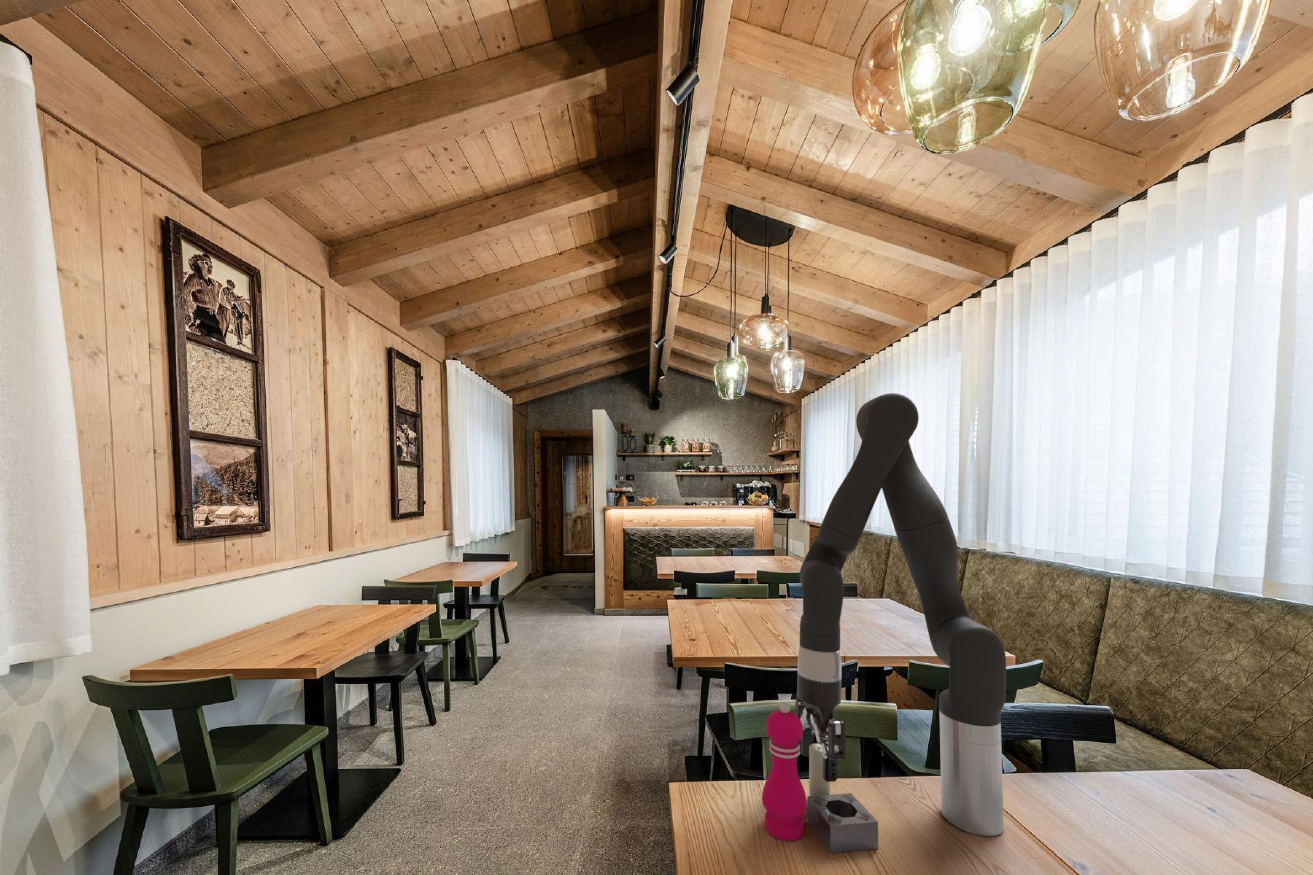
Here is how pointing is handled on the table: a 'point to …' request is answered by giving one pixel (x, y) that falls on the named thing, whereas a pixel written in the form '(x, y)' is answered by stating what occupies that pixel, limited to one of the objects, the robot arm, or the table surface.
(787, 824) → the pepper mill
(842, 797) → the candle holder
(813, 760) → the candle
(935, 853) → the table surface
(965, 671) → the robot arm
